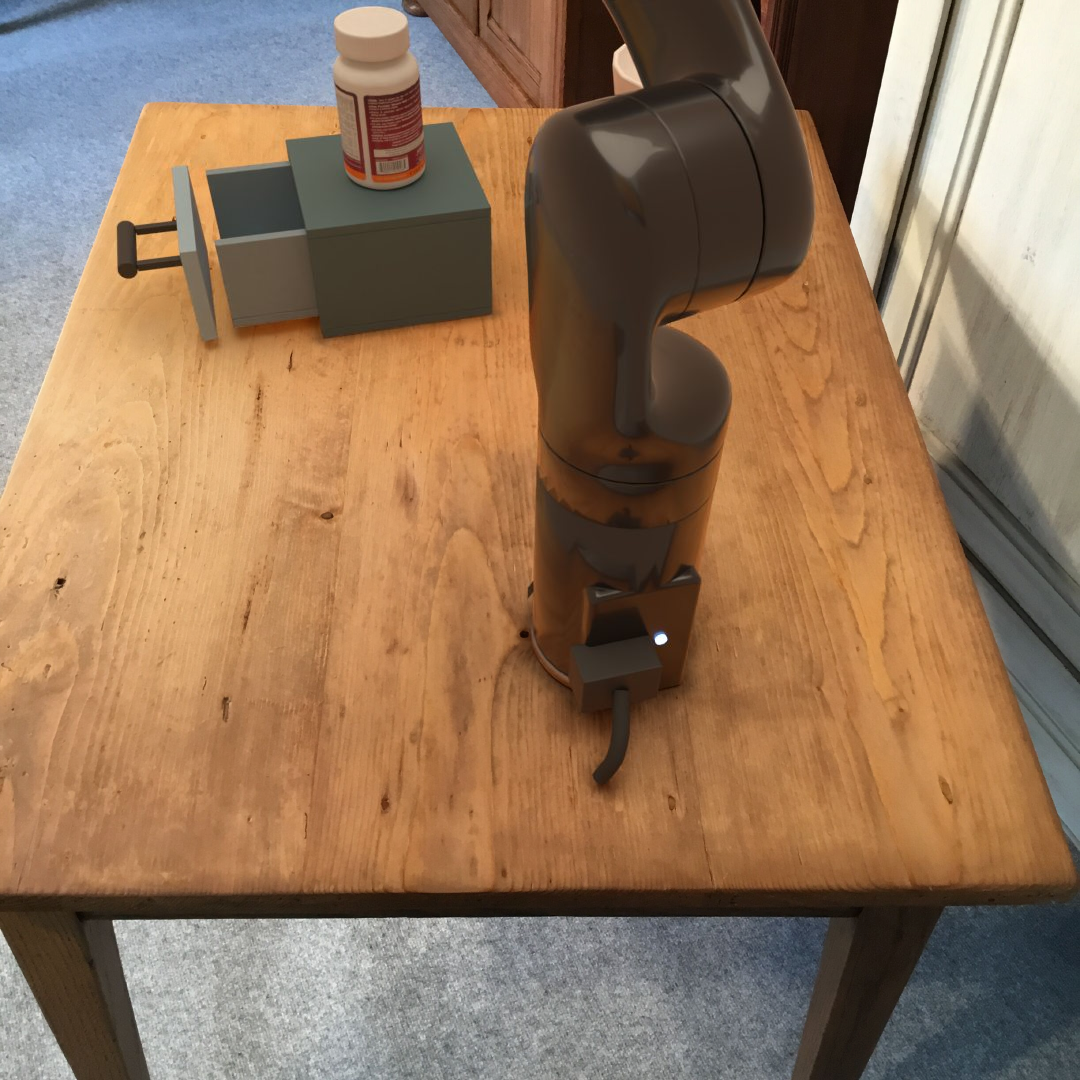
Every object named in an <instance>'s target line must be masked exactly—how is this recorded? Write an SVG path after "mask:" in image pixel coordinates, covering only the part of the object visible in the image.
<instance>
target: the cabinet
mask: <svg viewBox="0 0 1080 1080" xmlns="http://www.w3.org/2000/svg"><path fill="white" fill-rule="evenodd" d="M423 134H424V149H425V170H424V172H423V174H422V175H421V176H420V177H419V178H418V179H417V180H416V181H414V182H412V183H410V184H408V185H406V186H403V187H399V188H395V189H388V190H379V189H372V188H367V187H364V186H362V185H359V184H357V183H356V182H354V181H353V180H352V179H351V178H350V177H349V176H348V174H347V172H346V169H345V163H344V156H343V148H342V140H341V133H337V134H335V133H334V134H326V135H316V136H308V137H298V138H291V139H289V138H288V139H285V147H286V154H287V159H288V160H287V161H290V165H291V169H292V174H293V178H294V182H295V187H296V191H297V195H298V200H299V204H300V208H301V213H302V217H303V221H304V226H305V230H306V234H307V241H308V248H309V254H310V260H311V267H312V273H313V280H314V286H315V292H316V299H317V305H318V312H319V316H317V318H318V322H319V326H320V331H321V334H322V338H323V339H329V338H335V337H337V338H338V337H343V336H350V335H358V334H365V333H371V332H379V331H385V330H393V329H398V328H404V327H413V326H420V325H426V324H433V323H441V322H446V321H456V320H461V319H467V318H475V317H481V316H488V315H493V257H492V256H493V253H492V251H493V250H492V249H493V247H492V246H493V245H492V244H493V243H492V241H493V240H492V207H491V204H490V202H489V199H488V197H487V195H486V193H485V192H484V191H485V190H484V188H483V187H482V185H481V183H480V180H479V177H478V176H477V173H476V171H475V169H474V167H473V164H472V162H471V160H470V158H469V156H468V154H467V151H466V149H465V147H464V145H463V142H462V140H461V138H460V136H459V133H458V131H457V129H456V126H455V124H454V122H453V121H447V122H437V123H428V124H423Z"/></svg>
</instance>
